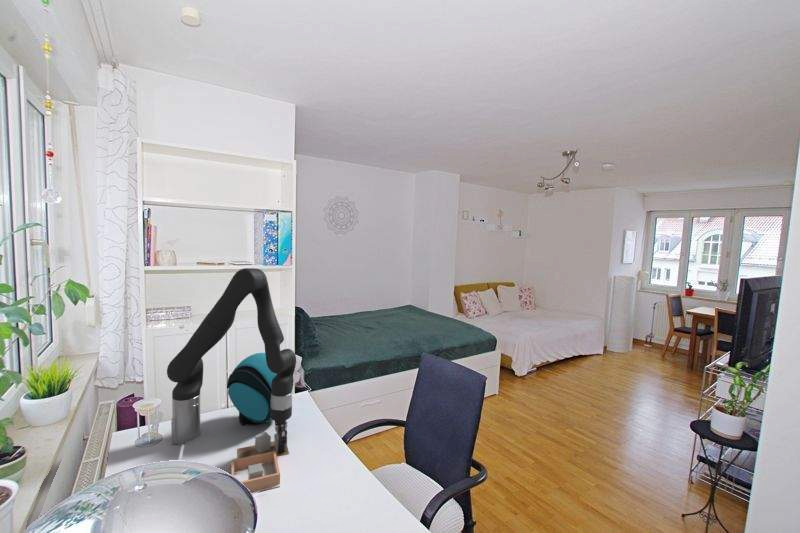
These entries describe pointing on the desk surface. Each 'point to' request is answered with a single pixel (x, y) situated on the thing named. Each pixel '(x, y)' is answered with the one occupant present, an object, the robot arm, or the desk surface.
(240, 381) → the helmet
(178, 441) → the robot arm
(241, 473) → the desk surface
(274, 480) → the bin
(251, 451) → the lid board
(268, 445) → the pale grey cube
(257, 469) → the stone
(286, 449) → the stone
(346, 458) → the desk surface
